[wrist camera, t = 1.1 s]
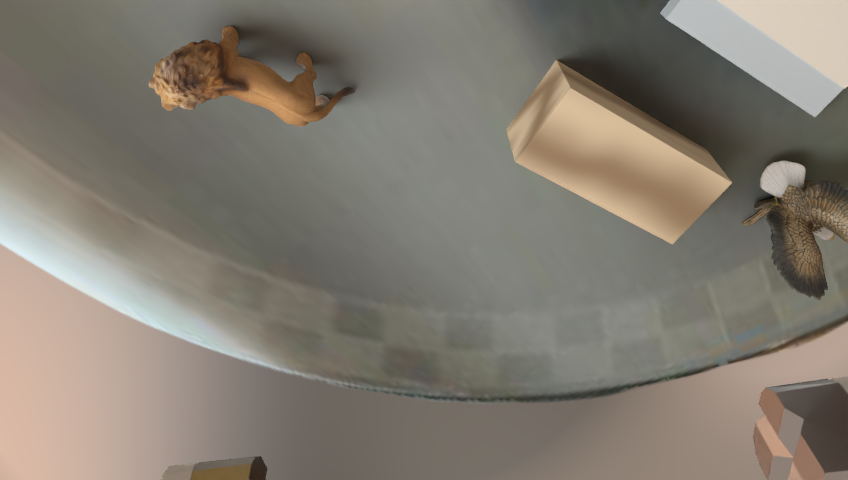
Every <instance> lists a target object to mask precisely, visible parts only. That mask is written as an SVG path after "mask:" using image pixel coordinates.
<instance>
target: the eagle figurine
mask: <svg viewBox="0 0 848 480" xmlns="http://www.w3.org/2000/svg"><path fill="white" fill-rule="evenodd" d="M805 174H806V171H805V167H804V166H803V165H801V164H799V163H794V162H789V161H786V160H783V161H779V162H773V163H771V164H770V165H769V166H767V167H766V169H765V170H764V172H763V173H762V176H761V179H760V187H761V189H762V190H763V191H765V192H767V193H770V194H772V195H774V198H770V199H767V200H763V201H758V202H756V203H755V204H754V209H755V210H756V209H759V208H761V209H760V210H759V211H758V212H757V213H756V214H755V215H754V216H752V217H750V218H748V219H747V220H745V221H744V222H743V223H742V224H743V225H744V226H747V225H750V224H754V223H755V222H756V221H757V220H758V219H760V218H761V217H763V216H765V215H766V214H767V213H768V212H769V213H768V215H767V218H766V221H767V222H768V223H769V225H770V227H771V232H772V235H771V239H772V243H773V246H772V249H773V254H772V260H773V261H774V265H775V266H777V270H778V271H779V272H780V273H781V276H782V277H784V279H785V281H786V282H787V283H788V284H789V285H790V287H791V288H792V289H795V290H797V292H798V293H801V294H804V295H805V296H807V297H809V298H810V297H811V296H812V297H814V298H815V299H818V300H820V299H821V296H824V295H825V292H824V290H828V287H827V282H826V278H825V274H824V269H823V262H822V255H821V252H820V249H819V247H818V245H817V243H816V241H815V238H814V235H813V233H814V234H815V235H817V236H819V237H821V238H822V239H824V240H828V239H833V238H834V237H833V232H834V233H835V234H836V235H838V236H839V237H840V238H842V239H843V240H844V241H846V242H847V243H848V190H846V187H845V186H843V185H842V184H841V183H838V182H831V181H829V180H828V181H822V182H821V183H820V184H815V185H814V186H813V187H812V185H811V184H812V181H807V182H805ZM804 182H805V183H804Z"/></svg>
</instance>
